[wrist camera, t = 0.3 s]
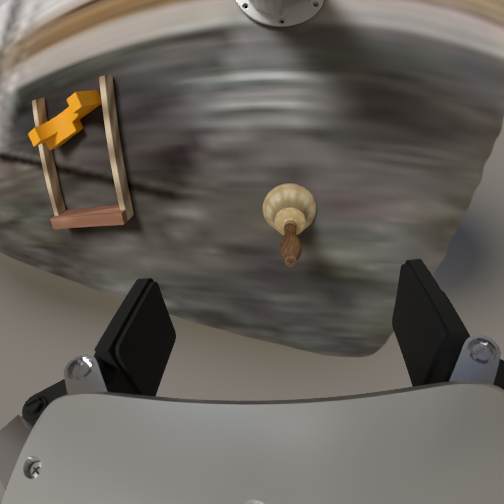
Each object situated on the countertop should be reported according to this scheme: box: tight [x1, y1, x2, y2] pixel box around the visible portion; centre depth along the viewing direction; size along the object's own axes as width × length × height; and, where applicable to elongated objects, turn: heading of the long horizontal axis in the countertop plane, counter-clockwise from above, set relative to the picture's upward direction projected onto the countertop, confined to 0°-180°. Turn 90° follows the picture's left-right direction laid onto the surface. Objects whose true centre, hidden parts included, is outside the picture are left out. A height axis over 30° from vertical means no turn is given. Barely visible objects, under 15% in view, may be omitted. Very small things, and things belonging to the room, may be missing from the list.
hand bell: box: [263, 183, 316, 267], centre depth 41 cm, size 8×8×16 cm
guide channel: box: [32, 75, 134, 229], centre depth 44 cm, size 24×16×4 cm, turn 3°
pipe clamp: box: [29, 90, 102, 151], centre depth 40 cm, size 12×4×6 cm, turn 113°
